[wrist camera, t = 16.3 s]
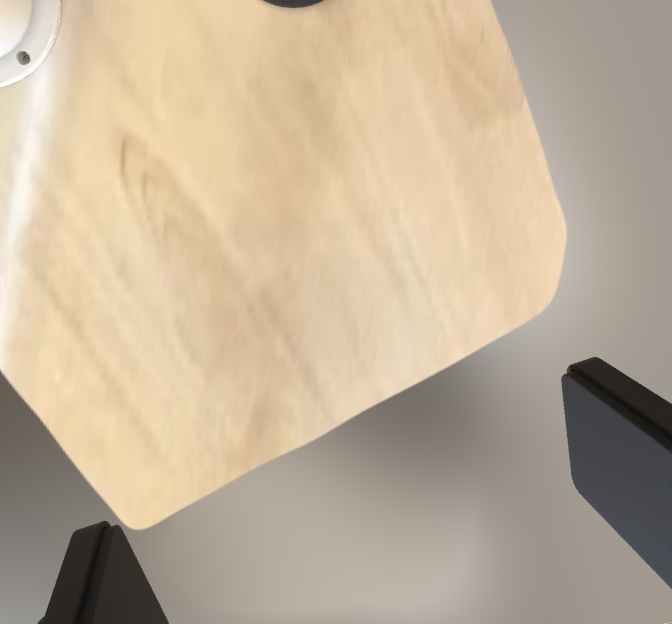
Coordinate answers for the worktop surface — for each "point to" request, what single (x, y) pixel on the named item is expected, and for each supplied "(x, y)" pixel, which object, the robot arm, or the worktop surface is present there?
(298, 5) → the coaster
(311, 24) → the worktop surface
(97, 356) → the worktop surface
